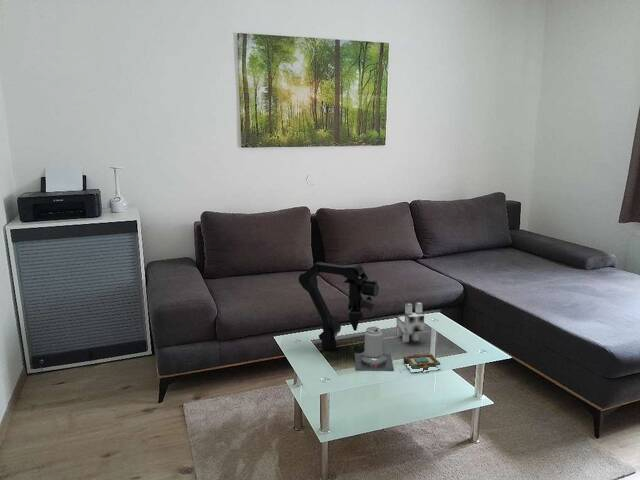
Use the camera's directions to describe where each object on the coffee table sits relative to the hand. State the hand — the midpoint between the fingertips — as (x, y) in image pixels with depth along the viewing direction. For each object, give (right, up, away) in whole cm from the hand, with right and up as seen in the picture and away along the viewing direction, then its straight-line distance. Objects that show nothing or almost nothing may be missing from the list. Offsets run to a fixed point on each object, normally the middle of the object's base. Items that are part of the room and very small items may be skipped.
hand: (354, 326), depth 218 cm
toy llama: (+27, -10, +18) cm, 34 cm away
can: (+7, -11, -7) cm, 15 cm away
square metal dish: (+8, -15, -7) cm, 18 cm away
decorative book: (+25, -16, -12) cm, 32 cm away
